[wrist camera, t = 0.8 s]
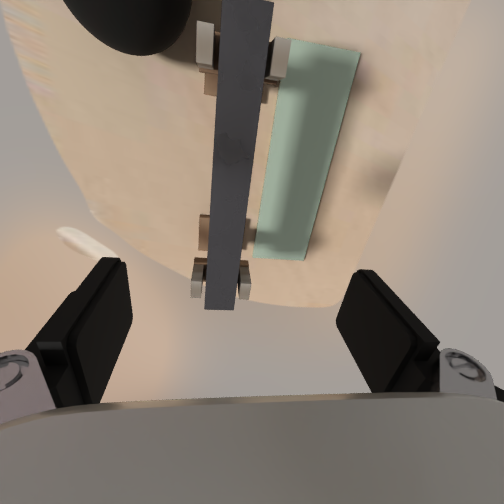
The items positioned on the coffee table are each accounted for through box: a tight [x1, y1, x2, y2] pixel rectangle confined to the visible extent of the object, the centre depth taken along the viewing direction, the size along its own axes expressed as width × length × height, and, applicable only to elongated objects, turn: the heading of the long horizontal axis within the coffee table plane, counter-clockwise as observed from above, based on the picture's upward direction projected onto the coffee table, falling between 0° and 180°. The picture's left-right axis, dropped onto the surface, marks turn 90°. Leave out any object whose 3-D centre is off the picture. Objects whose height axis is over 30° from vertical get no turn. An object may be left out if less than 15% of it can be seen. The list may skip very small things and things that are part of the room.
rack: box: [191, 21, 292, 300], centre depth 26 cm, size 24×6×13 cm, turn 172°
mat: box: [253, 38, 360, 261], centre depth 33 cm, size 26×8×1 cm, turn 172°
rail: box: [204, 0, 274, 310], centre depth 22 cm, size 24×3×3 cm, turn 172°
